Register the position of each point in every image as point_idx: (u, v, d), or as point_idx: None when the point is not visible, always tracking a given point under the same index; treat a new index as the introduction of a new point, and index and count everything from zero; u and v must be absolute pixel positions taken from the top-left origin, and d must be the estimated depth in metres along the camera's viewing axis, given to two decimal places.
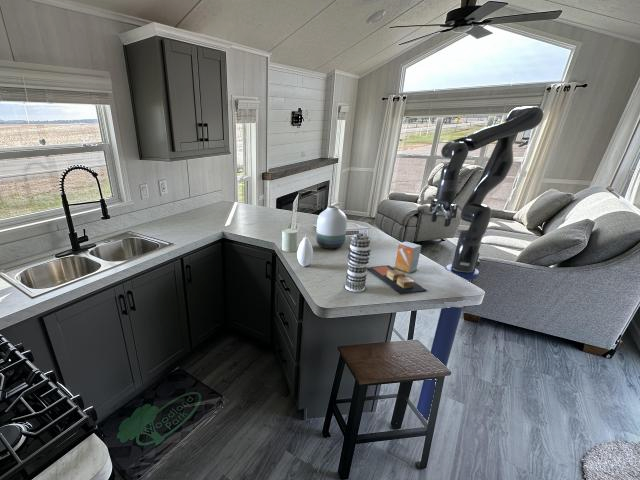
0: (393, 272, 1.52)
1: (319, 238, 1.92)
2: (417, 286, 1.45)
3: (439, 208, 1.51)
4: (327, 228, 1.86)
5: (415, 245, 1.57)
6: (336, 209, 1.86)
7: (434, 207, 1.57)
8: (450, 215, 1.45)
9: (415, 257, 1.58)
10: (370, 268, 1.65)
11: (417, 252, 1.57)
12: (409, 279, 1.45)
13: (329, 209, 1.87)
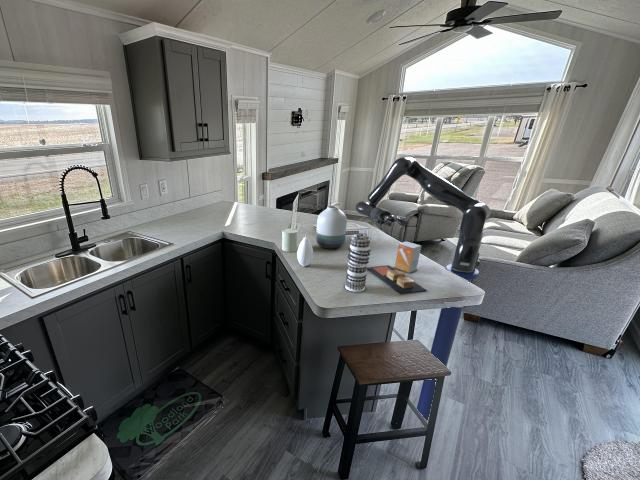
0: (393, 272, 1.52)
1: (319, 238, 1.92)
2: (417, 286, 1.45)
3: None
4: (327, 228, 1.86)
5: (415, 245, 1.57)
6: (336, 209, 1.86)
7: None
8: None
9: (415, 257, 1.58)
10: (370, 268, 1.65)
11: (417, 252, 1.57)
12: (409, 279, 1.45)
13: (329, 209, 1.87)
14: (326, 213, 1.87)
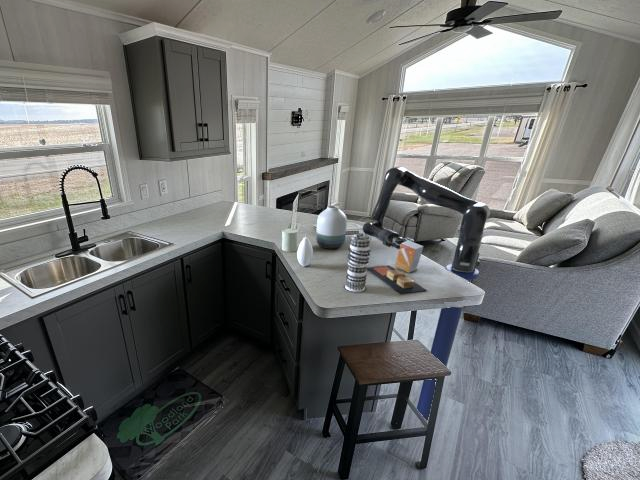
0: (393, 272, 1.52)
1: (319, 238, 1.92)
2: (417, 286, 1.45)
3: None
4: (327, 228, 1.86)
5: (417, 246, 1.56)
6: (336, 209, 1.86)
7: None
8: None
9: (417, 258, 1.57)
10: (370, 268, 1.65)
11: (418, 253, 1.56)
12: (409, 279, 1.45)
13: (329, 209, 1.87)
14: (326, 213, 1.87)
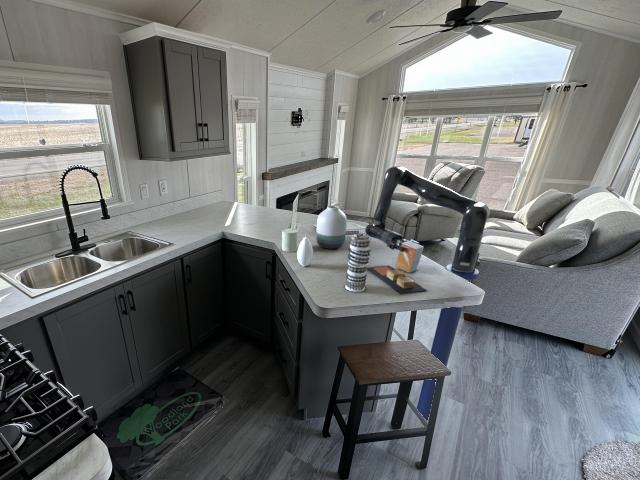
0: (393, 272, 1.52)
1: (319, 238, 1.92)
2: (417, 286, 1.45)
3: None
4: (327, 228, 1.86)
5: (418, 246, 1.56)
6: (336, 209, 1.86)
7: None
8: None
9: (417, 258, 1.57)
10: (370, 268, 1.65)
11: (419, 253, 1.56)
12: (409, 279, 1.45)
13: (329, 209, 1.87)
14: (326, 213, 1.87)
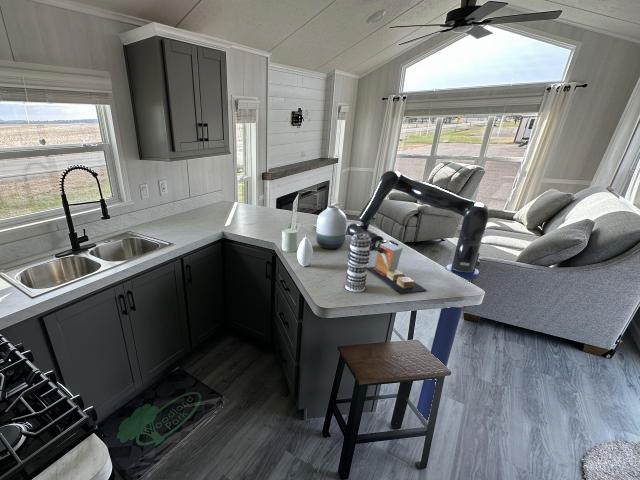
0: (393, 272, 1.52)
1: (319, 238, 1.92)
2: (417, 286, 1.45)
3: None
4: (327, 228, 1.86)
5: (396, 247, 1.53)
6: (336, 209, 1.86)
7: (395, 243, 1.61)
8: None
9: (395, 259, 1.54)
10: (370, 268, 1.65)
11: (397, 255, 1.53)
12: (409, 279, 1.45)
13: (329, 209, 1.87)
14: (326, 213, 1.87)
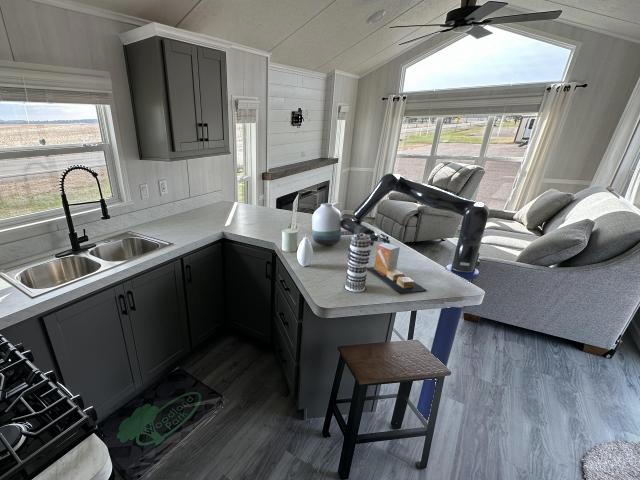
0: (393, 272, 1.52)
1: (317, 235, 1.94)
2: (417, 286, 1.45)
3: None
4: (324, 224, 1.89)
5: (393, 247, 1.54)
6: (330, 205, 1.90)
7: None
8: None
9: (394, 259, 1.55)
10: (370, 268, 1.65)
11: (395, 254, 1.54)
12: (409, 279, 1.45)
13: (323, 206, 1.91)
14: (321, 210, 1.90)
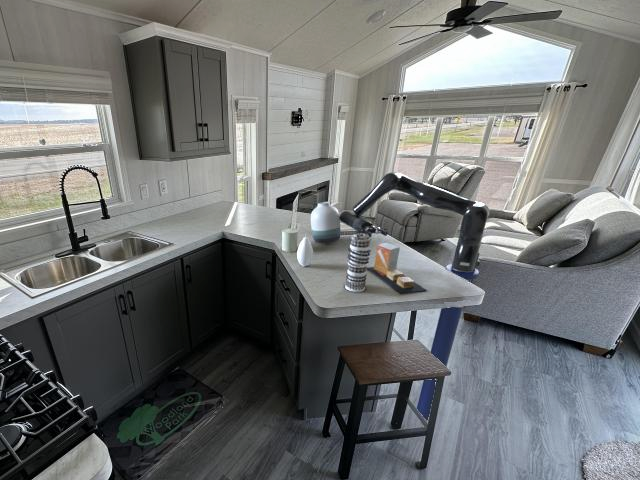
0: (393, 272, 1.52)
1: (319, 235, 1.94)
2: (417, 286, 1.45)
3: None
4: (326, 223, 1.90)
5: (393, 247, 1.54)
6: (328, 204, 1.92)
7: None
8: None
9: (394, 259, 1.55)
10: (370, 268, 1.65)
11: (395, 254, 1.54)
12: (409, 279, 1.45)
13: (322, 205, 1.92)
14: (320, 209, 1.91)
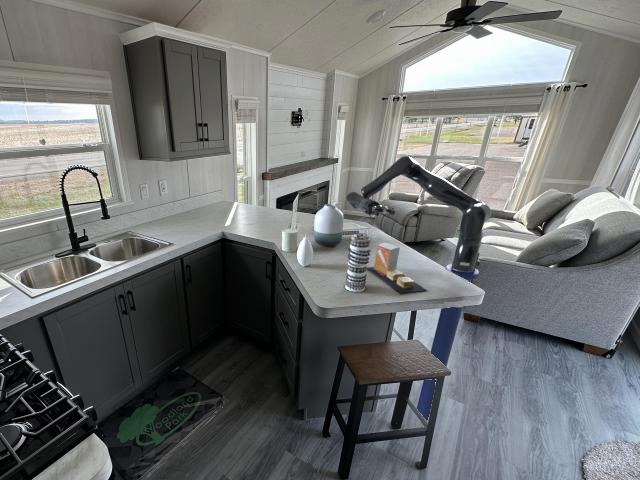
0: (393, 272, 1.52)
1: (321, 237, 1.94)
2: (417, 286, 1.45)
3: None
4: (330, 226, 1.89)
5: (393, 247, 1.54)
6: (335, 207, 1.90)
7: None
8: (367, 213, 1.68)
9: (394, 259, 1.55)
10: (370, 268, 1.65)
11: (395, 254, 1.54)
12: (409, 279, 1.45)
13: (328, 208, 1.90)
14: (327, 212, 1.89)
